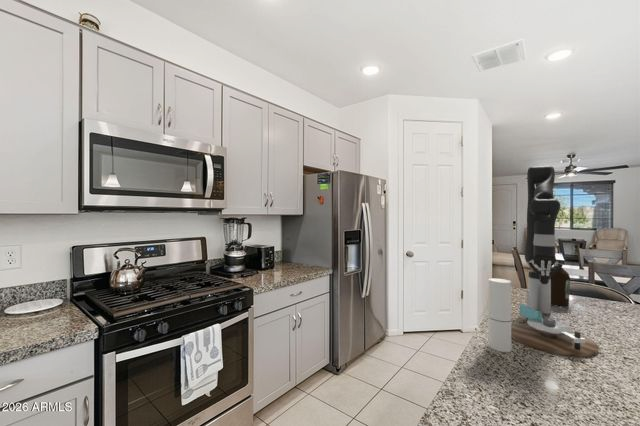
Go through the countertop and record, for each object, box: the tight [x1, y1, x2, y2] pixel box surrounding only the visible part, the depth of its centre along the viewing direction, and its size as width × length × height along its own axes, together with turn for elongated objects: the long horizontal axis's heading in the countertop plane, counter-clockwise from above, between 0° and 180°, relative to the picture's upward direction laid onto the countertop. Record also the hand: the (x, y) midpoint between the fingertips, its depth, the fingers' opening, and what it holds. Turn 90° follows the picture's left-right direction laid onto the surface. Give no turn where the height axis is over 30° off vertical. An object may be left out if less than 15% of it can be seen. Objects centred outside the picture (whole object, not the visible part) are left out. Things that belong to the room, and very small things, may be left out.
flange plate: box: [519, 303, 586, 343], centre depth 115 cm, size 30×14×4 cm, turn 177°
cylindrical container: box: [488, 277, 512, 353], centre depth 107 cm, size 7×7×25 cm
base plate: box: [511, 322, 599, 358], centre depth 113 cm, size 28×28×8 cm
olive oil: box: [551, 259, 571, 307], centre depth 160 cm, size 11×11×25 cm
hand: (544, 283), depth 125 cm, fingers closed
